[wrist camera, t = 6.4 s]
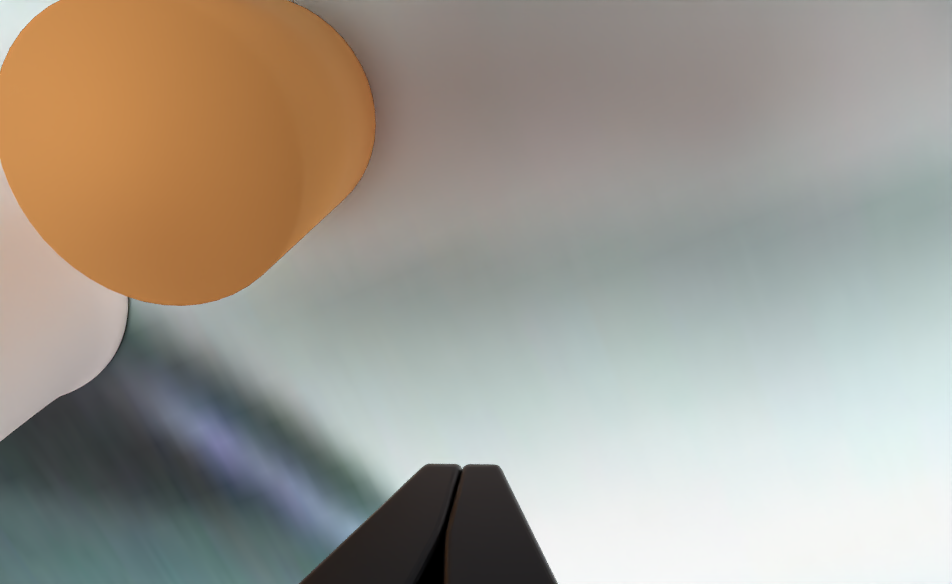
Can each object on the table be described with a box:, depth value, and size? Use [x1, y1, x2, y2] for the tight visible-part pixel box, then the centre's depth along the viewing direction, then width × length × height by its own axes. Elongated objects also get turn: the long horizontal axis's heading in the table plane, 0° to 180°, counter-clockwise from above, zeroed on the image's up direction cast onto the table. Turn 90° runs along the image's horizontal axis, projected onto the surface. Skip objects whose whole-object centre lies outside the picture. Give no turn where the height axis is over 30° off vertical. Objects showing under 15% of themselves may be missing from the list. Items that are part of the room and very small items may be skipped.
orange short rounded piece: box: [0, 0, 376, 306], centre depth 16 cm, size 6×6×6 cm
